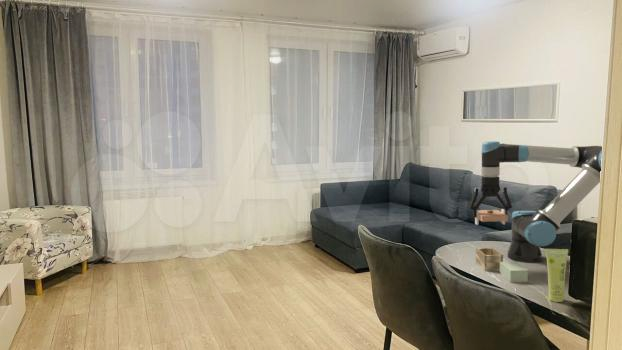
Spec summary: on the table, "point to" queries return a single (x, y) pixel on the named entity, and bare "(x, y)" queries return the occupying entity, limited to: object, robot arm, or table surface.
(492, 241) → the table surface
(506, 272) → the pale green rectangular block
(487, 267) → the box
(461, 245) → the table surface
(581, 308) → the table surface
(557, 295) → the tube
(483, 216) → the lid
